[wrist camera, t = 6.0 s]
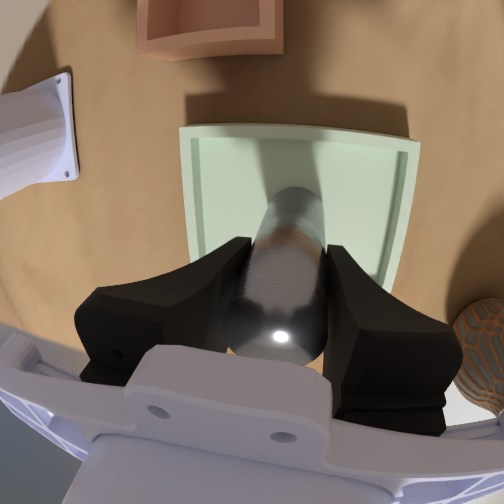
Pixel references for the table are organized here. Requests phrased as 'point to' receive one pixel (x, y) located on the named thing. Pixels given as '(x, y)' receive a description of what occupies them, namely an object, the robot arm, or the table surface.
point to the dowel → (282, 284)
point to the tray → (300, 185)
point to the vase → (482, 354)
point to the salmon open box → (208, 28)
